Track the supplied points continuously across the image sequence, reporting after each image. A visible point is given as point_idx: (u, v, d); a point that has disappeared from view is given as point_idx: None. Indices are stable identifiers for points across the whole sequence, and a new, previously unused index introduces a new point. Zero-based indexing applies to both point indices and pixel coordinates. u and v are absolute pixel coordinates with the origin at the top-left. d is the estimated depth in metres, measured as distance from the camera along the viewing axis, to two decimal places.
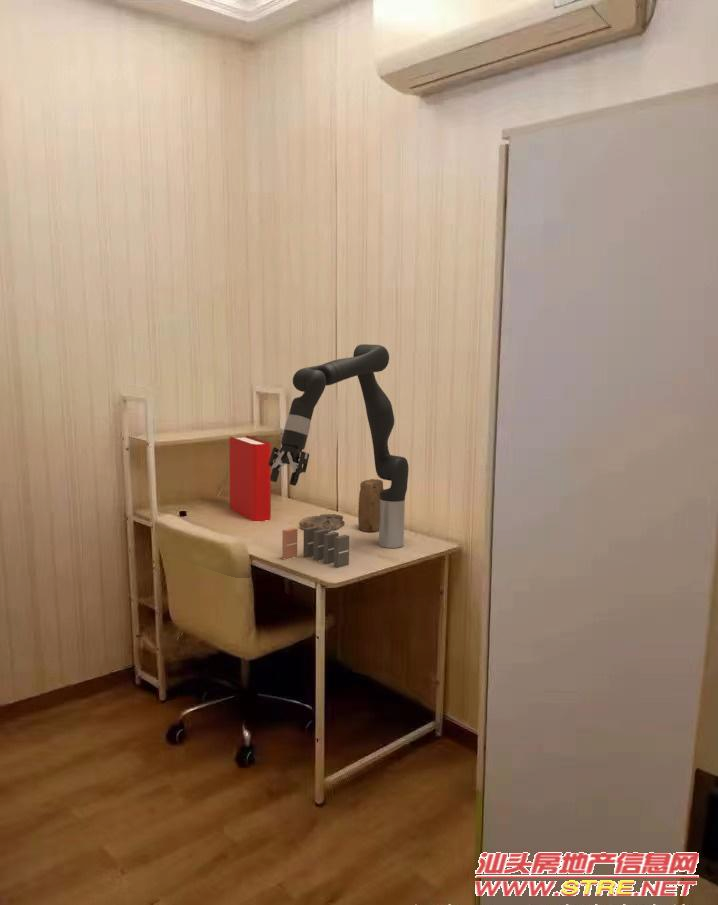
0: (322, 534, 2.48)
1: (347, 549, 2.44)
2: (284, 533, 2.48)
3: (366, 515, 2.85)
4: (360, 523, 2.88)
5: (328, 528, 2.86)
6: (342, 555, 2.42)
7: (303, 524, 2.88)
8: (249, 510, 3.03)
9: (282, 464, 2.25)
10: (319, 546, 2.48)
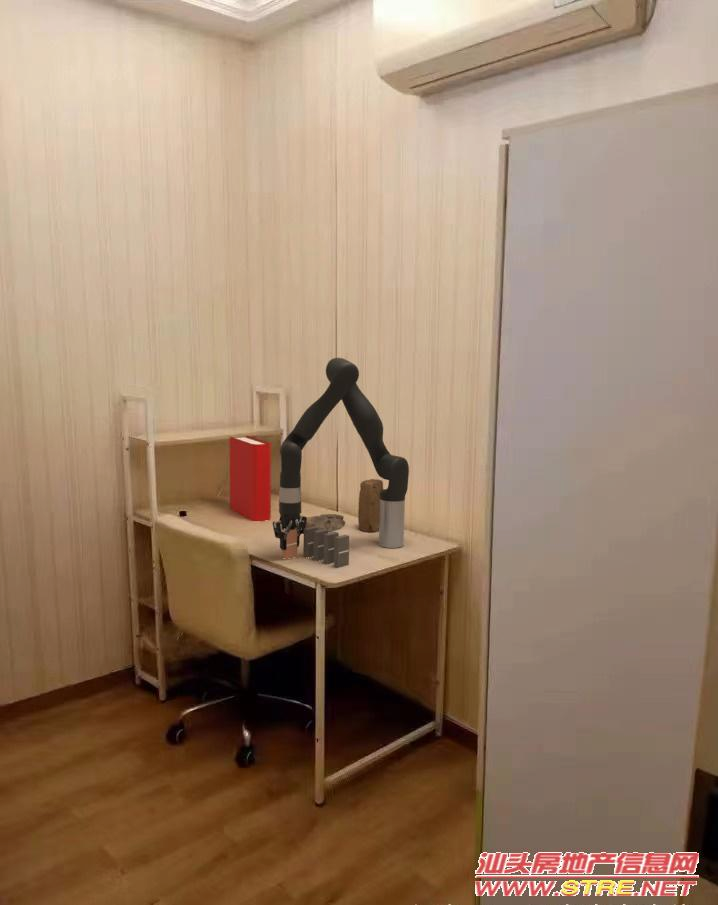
0: (322, 534, 2.48)
1: (347, 549, 2.44)
2: None
3: (366, 515, 2.85)
4: (360, 523, 2.88)
5: (329, 528, 2.86)
6: (342, 555, 2.42)
7: None
8: (249, 510, 3.03)
9: None
10: (319, 546, 2.48)
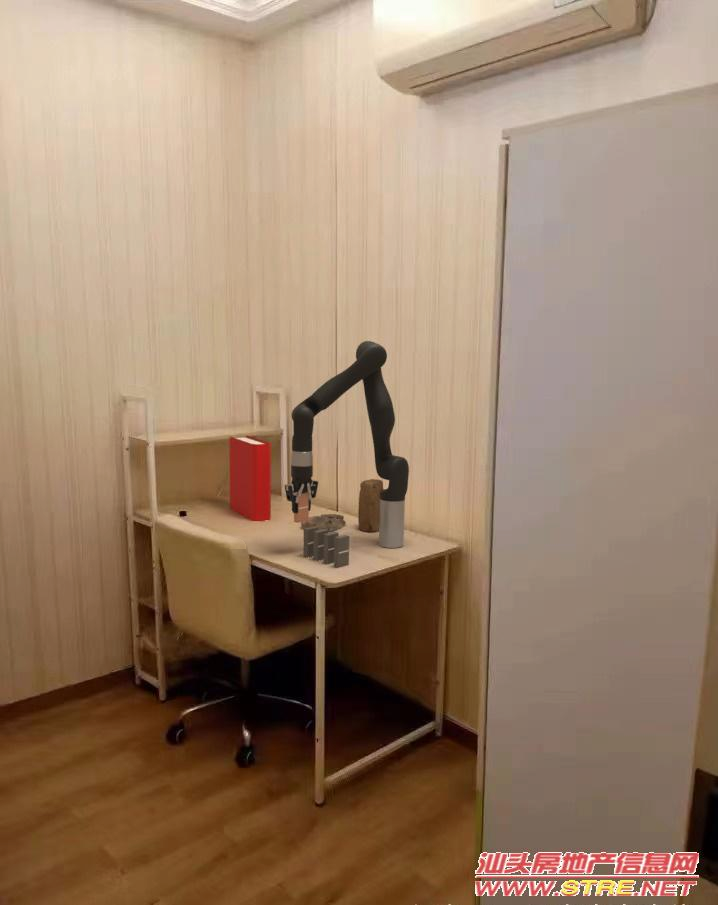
0: (322, 534, 2.48)
1: (347, 549, 2.44)
2: None
3: (366, 515, 2.85)
4: (360, 523, 2.88)
5: (330, 528, 2.86)
6: (342, 555, 2.42)
7: (305, 524, 2.88)
8: (249, 510, 3.03)
9: None
10: (319, 546, 2.48)
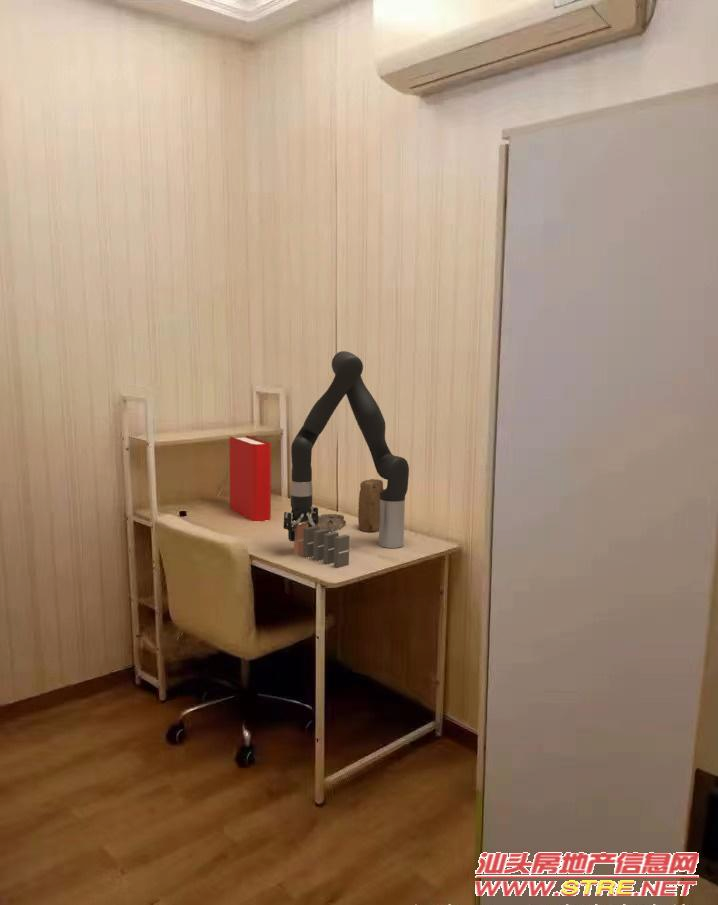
0: (322, 534, 2.48)
1: (347, 549, 2.44)
2: (295, 529, 2.54)
3: (366, 515, 2.85)
4: (360, 523, 2.88)
5: (332, 528, 2.86)
6: (342, 555, 2.42)
7: None
8: (249, 510, 3.03)
9: (308, 521, 2.57)
10: (319, 546, 2.48)
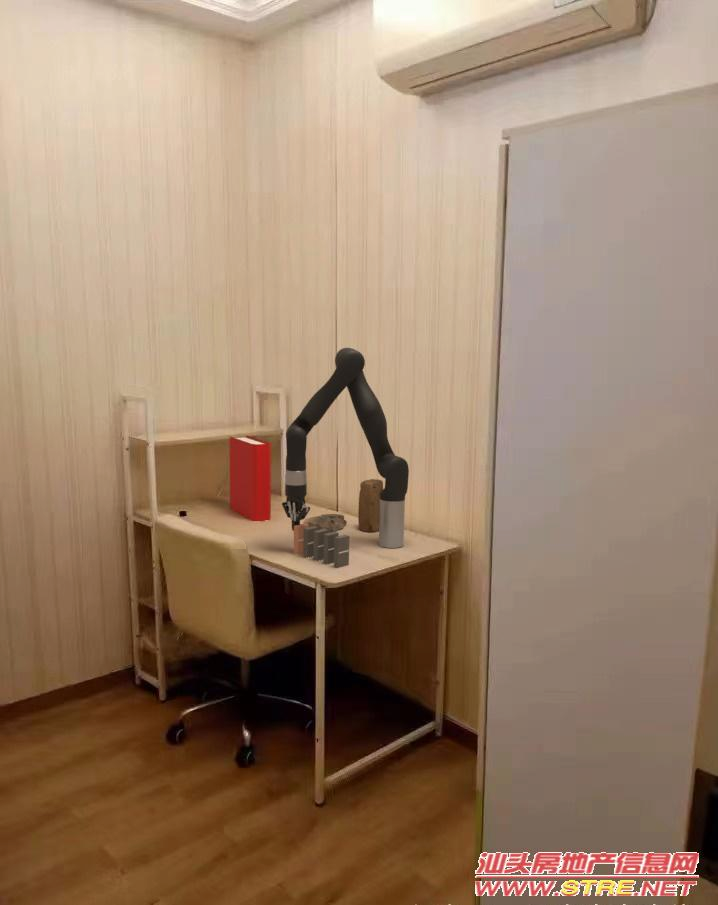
0: (322, 534, 2.48)
1: (347, 549, 2.44)
2: (295, 529, 2.54)
3: (366, 515, 2.85)
4: (360, 523, 2.88)
5: (334, 528, 2.86)
6: (342, 555, 2.42)
7: (308, 525, 2.87)
8: (249, 510, 3.03)
9: None
10: (319, 546, 2.48)
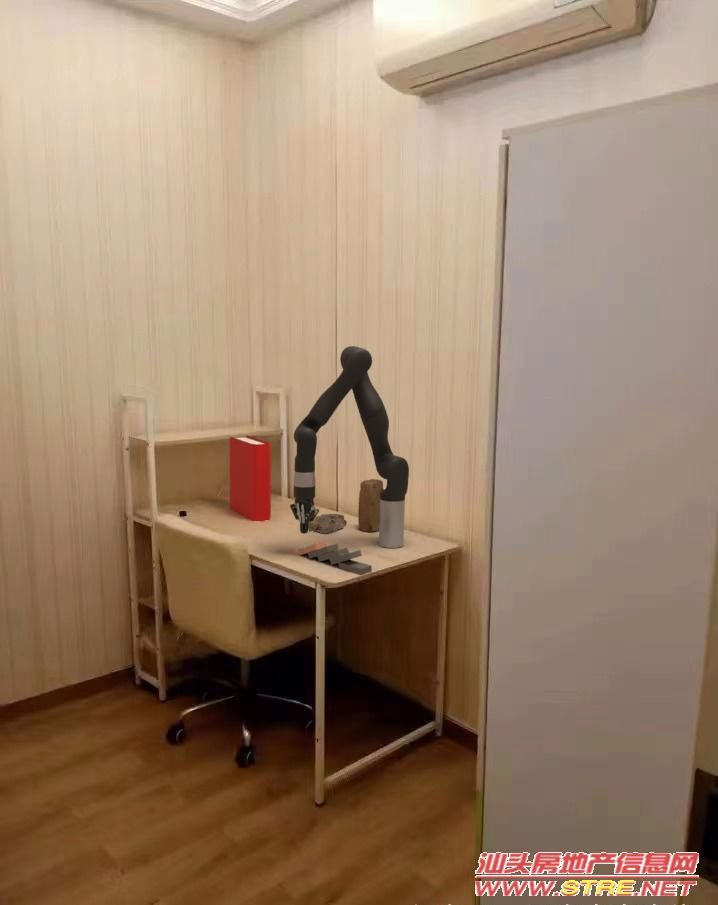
0: None
1: None
2: (314, 547, 2.48)
3: (366, 515, 2.85)
4: (360, 523, 2.88)
5: (334, 528, 2.86)
6: None
7: (308, 525, 2.87)
8: (249, 510, 3.03)
9: None
10: None
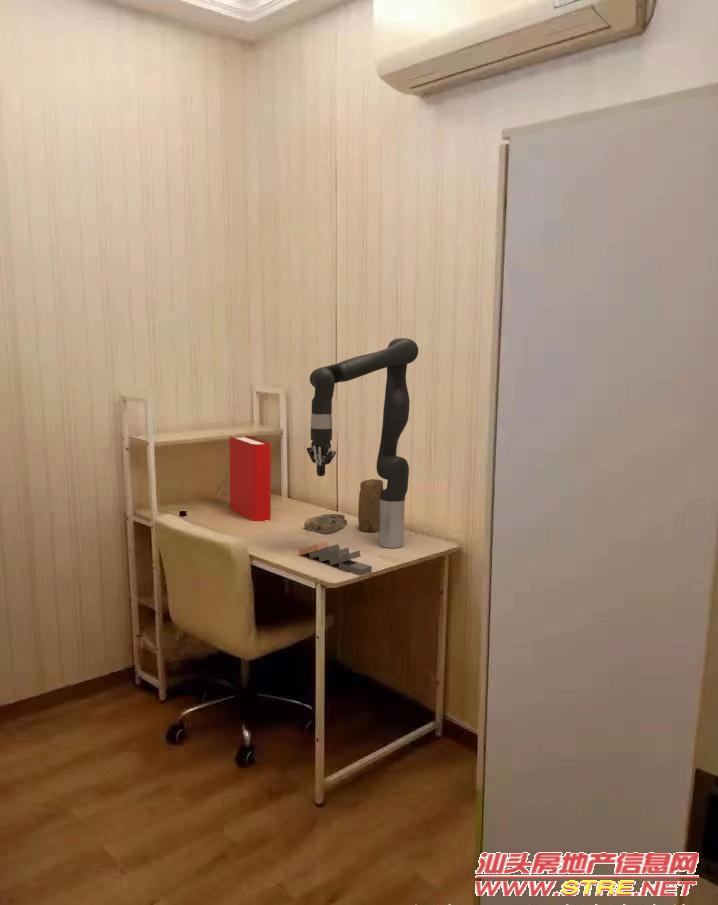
0: None
1: None
2: (315, 547, 2.48)
3: (366, 515, 2.85)
4: (360, 523, 2.88)
5: (335, 528, 2.86)
6: None
7: (309, 525, 2.87)
8: (249, 510, 3.03)
9: None
10: (331, 558, 2.45)
